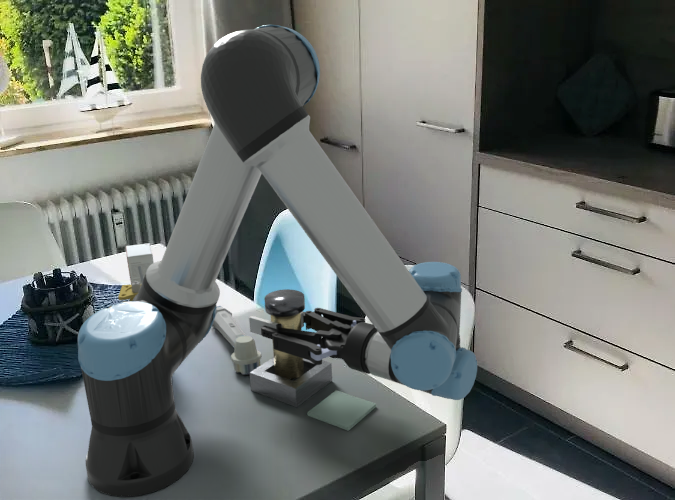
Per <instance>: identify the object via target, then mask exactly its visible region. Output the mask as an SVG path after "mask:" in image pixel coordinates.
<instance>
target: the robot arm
mask: <svg viewBox="0 0 675 500" xmlns="http://www.w3.org/2000/svg"><path fill="white" fill-rule="evenodd" d="M320 77H321V65H320V61H319V58H318V55H317V52H316V50H315V48H314V47H313V45H312V44H311V43H310V41H309V39H307V38H306V37H305V36H304V35H302V34H301V33H300V32H298V31H296V30H294V29H292V28H289V27H287V26H283V25H282V26H281V25H278V24H277V25H276V24H266V25H265V24H263V25H261V26H258V27H255V28H254V29H253V28H251V29H243V30H237V31H234V32H231V33H228V34H227V35H225V36H222V37H221V38H220V39H218V41H216V42H215V43H214V44H213V45H212V47H211V48H210V49H209V51H208V52H207V54H206V55H205V58H204V61H203V63H202V66H201V73H200V88H201V92H202V97H203V100H204V103H205V105H206V106H205V107H206V108H207V110H208V112H209V115H211V117H212V119H213V122H214V125H213V128H212V130H211V133H210V134H209V138H208V139H207V143H206V146H205V147H204V150H203V153H202V155H201V157H200V160H199V163H198V165H197V169H196V172H195V174H194V176H193V179H192V182H191V184H190V186H189V189H188V192H187V194H186V197H185V198H184V199H185V200H184V202H183V205H182V207H181V210H180V212H179V215H178V217H177V220H176V223H175V225H174V228H173V230H172V233H171V235H170V238H169V240H168V243H167V246H166V248H165V250H164V253H163V255H162V258H161V260H159V261H155V262H154V263H153V264H151V265H150V266H149V267H148V269H147V271H146V274H145V276H144V279H143V282H142V284H141V287H140V289H139V292H138V295H137V297H136V299H135V300H134V301H129V300H128V301H126V302H123V301H122V302H119V303H118V302H117V303H114V304H111V305H110V306H111V307H110V306H109V307H110V308H109V307H108V308H104V307H103V308H101V309H99V310H97V311H96V312H94V313H93V314H91V315H90V316H89V317H88V318H87V319H86V320H85V321H84V322H83V324H82V325H81V326H80V329H79V331H78V335H77V349H78V350H77V351H78V352H77V355H78V356H77V359H78V363H79V366H80V369H81V374H82V379H83V384H84V391H85V396H86V401H87V407H88V411H89V417H90V421H91V422H90V423H91V431H90V437H89V441H88V443H89V444H88V451H87V452H86V457H85V468H86V469H85V470H86V475H87V479H88V482H89V484H90V485H91V487H92V488H94V489H95V490H97V491H98V492H100V493H102V494H105V495H108V496H114V497H121V498H122V497H123V498H124V497H136V496H143V495H148V494H151V493H154V492H157V491H160V490H162V489H165V488H167V487H168V486H170V485H172V484H173V483H175V482H176V481H178V480H179V479H181V478H182V477H183V476H184V475H185V474H186V473H187V472H188V470H189V469H190V467H191V466H192V464H193V462H194V456H195V454H194V453H195V452H194V445H193V440H192V437H191V434H190V433H189V431H188V429H187V427H186V425H185V423H184V421H183V420H182V418H181V416H180V415H179V413H178V411H177V408H176V401H175V396H174V389H173V388H174V386H173V381H172V379H173V375H174V373H175V372H176V370H178V368H179V367H180V366H181V365H182V363H183V362H184V361H185V360H186V359H187V358H188V356H189V355H190V354H191V353H192V352H193V350H194V349H195V348H196V347H197V346H198V345H199V344H200V343H201V342H202V341H203V340H204V339H205V338H206V337H207V336H208V335H209V332H210V331H211V329H212V327H213V326H212V325H213V322H214V319H215V316H216V307H217V303H218V301H219V299H220V295H221V293H220V292H221V290H220V288H219V285H218V283H217V282H216V280H217V278H218V277H219V274H220V271H221V268H222V267H223V264H224V262H225V260H226V257H227V255H228V253H229V250H230V249H231V246H232V243H233V241H234V239H235V236H236V234H237V232H238V229H239V227H240V225H241V223H242V220H243V218H244V215H245V213H246V211H247V209H248V207H249V203H250V202H251V199H252V197H253V195H254V193H255V190H256V188H257V185H258V183H259V181H260V178H261V176H263V177H264V179H265V180H266V182H268V184H269V185H270V187H271V189H273V191H274V192H275V193H276V194H277V197H279V199H280V201H282V203H283V204H284V205H285V207H286V209H287V210H288V211H289V212H290V214H291V215H292V217H293V218H294V219H295V220H296V222H297V223H298V225H299V226H300V227H301V229H302V230H303V231H304V233H305V234H306V236H307V237H308V238H309V240H310V241H311V243H312V245H314V246H315V248H316V250H318V252H319V253H320V254H321V256H322V257H323V259H324V260H325V261H326V263H327V264H328V265H329V267H330V268H331V270H332V271H333V272H334V274H335V275H336V276H337V277H338V279H339V281H340V282H341V283H342V285H343V286H344V288H346V290H347V292H348V293H349V294H350V295H351V297H352V298H353V300H354V301H355V303H357V305H358V307H360V309H361V310H362V311H363V313H364V314H365V316H366V317H367V319H368V320H369V322H370V323H368V322H366V318H365V317H357V316H351V315H348V314H343V313H341V312H336V311H333V310H329V309H326V308H325V309H324V308H322V307H315V308H314V309H313V310H314V311H311V310H305V311H302V312H301V329H302V328H304V327H305V330H295V329H288V328H282V324H281V323H280V324H279V323H275V322H272V321H271V320H269V319H265V318H262V317H258V316H255V315H251V316H249V317H248V321H249V332H250V333H253V334H255V335H260V336H262V337H263V338H266V339H269V340H272V339H273V341H272V350H273V349H275V350H278V351H281V352H284V353H287V354H291V355H294V356H297V357H300V358H304V359H307V360H310V361H311V362H312V363H314V364H316V365H321V364H322V360H323V359H326V358H329V357H330V358H331V359H339V360H340V359H341V360H342V361H344V363H345V364H346V366H347V367H348V368H350V369H351V370H353V371H357V372H361V373H363V374H367V375H370V374H371V375H372V376H374V377H378V378H380V379H384V380H388V381H391V382H394V383H396V384H399V385H402V386H406V387H407V388H409V389H412V390H415V391H419V392H420V391H421V392H423V393H427V394H430V395H432V396H434V397H439V398H440V397H441V398H443V399H446V400H452V401H453V400H454V401H459V400H463V399H464V398H465V397H466V396H467V395H468V394H469V393H470V392H471V390H472V388H473V387H474V384H475V380H476V378H477V374H478V361H477V357H476V354H475V353H474V352H473V351H472V350H470V349H468V348H466V347H461V335H460V331H461V330H460V328H461V326H460V325H461V311H462V309H461V307H462V292H463V288H462V275H461V272H460V270H459V269H458V268H457V267H456V266H454V265H453V264H450V263H447V262H442V261H426V262H421V263H417V264H415V265H413V266H412V267H411V268H410V269H408V268H407V266H406V265H405V264H404V262H403V261H402V259H401V258H400V257H399V255H398V254H397V252H396V251H395V249H394V248H393V247H392V246H391V244H390V242H389V241H388V240H387V238H386V237H385V235H384V234H383V233H382V231H381V229H380V228H379V227H378V226H377V224H376V222H375V220H374V219H373V218H372V217H371V215H370V214H369V213H368V212H367V210H366V209H365V207H364V206H363V204H362V203H361V202H360V200H359V199H358V197H357V196H356V194H355V193H354V192H353V190H352V189H351V187H350V186H349V185H348V182H347V181H346V180H345V179H344V178H343V176H342V175H341V173H340V172H339V170H338V169H337V168H336V166H335V165H334V163H333V162H332V160H331V158H329V156H328V155H327V153H326V152H325V151H324V149H323V148H322V147H321V145H320V143H319V142H318V141H317V140H316V138H315V137H314V135H313V134H312V132H311V131H310V122H311V116H310V114H309V113H308V112H307V109H305V107H304V106H305V105H306V104H307V103H309V102H310V101H311V99H312V98H313V96H314V95H315V94H316V91H317V89H318V86H319V82H320ZM307 330H313V331H307Z"/></svg>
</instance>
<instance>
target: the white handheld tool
mask: <svg viewBox="0 0 675 500" xmlns="http://www.w3.org/2000/svg"><path fill="white" fill-rule="evenodd" d="M212 327H213V328H214V329H216V330H217V331H219V333H220V334H221V335H222V336H223V338H225V340H226V341H228V343H229V344H230V346H232V347H233V348H234V352H233V353H231V355H230V360H231V362H232V363H233V368H234V371H235V372H236V373H241V375H250V372H251V371H253V370H254V369H256V368H258V367H259V366H261V365H262V364H261V359H262V356H263V355H262V352H261V351H260V350H258V349H257V345H256V342H255V340H254V338H253V337H252V336H250V335H246V333H245V332H244V331H243V330H242V328H241V326H240V325H239V324H238V322H237V321H236V320H235V318H234V317H233V313H232V312H231V311H229V310H228V309H227V308H225V307H223V306H221V305H218V306H217V305H216V316H215V319H214V322H213V325H212Z"/></svg>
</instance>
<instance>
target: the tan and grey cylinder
mask: <svg viewBox="0 0 675 500" xmlns="http://www.w3.org/2000/svg"><path fill="white" fill-rule="evenodd" d="M263 301H264V309H265V312H266V314H268V315H270V321H272V322H275V323H279V324H280V323H281V324H282V328H288V329H295V330H302V328H301V312H302V311H303V312H305V309H306V301H305V294H304V293H303V292H302V291H299V290H296V289H286V288H285V289H278V290H274V291H271V292H268V293H267V294H266V295H265V296H264V299H263ZM302 331H303V330H302ZM271 340H272V342H273V339H271ZM272 350H273V351H272V352H273V353H272V355H273V357H274V368H275V375H277V376H280V377H283V378H286V379H289V380H294V379H295V380H296V379H298V378H299V377H300V376H301V375H303V373H304V363H303V358H300V357H297V356H294V355H291V354H287V353H284V352H281V351H278V350H275V349H273V348H272Z"/></svg>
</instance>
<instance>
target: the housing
mask: <svg viewBox="0 0 675 500" xmlns="http://www.w3.org/2000/svg"><path fill="white" fill-rule="evenodd" d="M303 363H304V373H303V375H301V376H300V377H298V378H295V380H293V379H286V378H283V377H280V376H277V375H275V368H274V356H273V357H272V358H270V359H268V360H267V361H266V362H263V363H262V364H261V366H259V367H258V368H256V369H254V370H253V371H251V372H250V374H249V382H250V391H251V392H254V393H257V394H260V395H262V396H264V397H268V398H269V399H273V400H276V401H279V402H281V403H284V404H287V405H290V406H291V407H292V406H293V407H295V408H298V407H299V406H301V405H303V404H304V402H306V401H307V400H309V399H310V398H312V396H314V395H315V394H316V393H318V392H320V391H321V390H322V389H324V388H325V387H326V386H327V385H329V384H330V383H331V382H332V381H333V371H332V368H333V367H332V364H333V363H332V362H329V361H325V360H323V359H322V364H321V365H316V364H314V363H312V362H311V361H310V360H307V359H304V358H303Z"/></svg>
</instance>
